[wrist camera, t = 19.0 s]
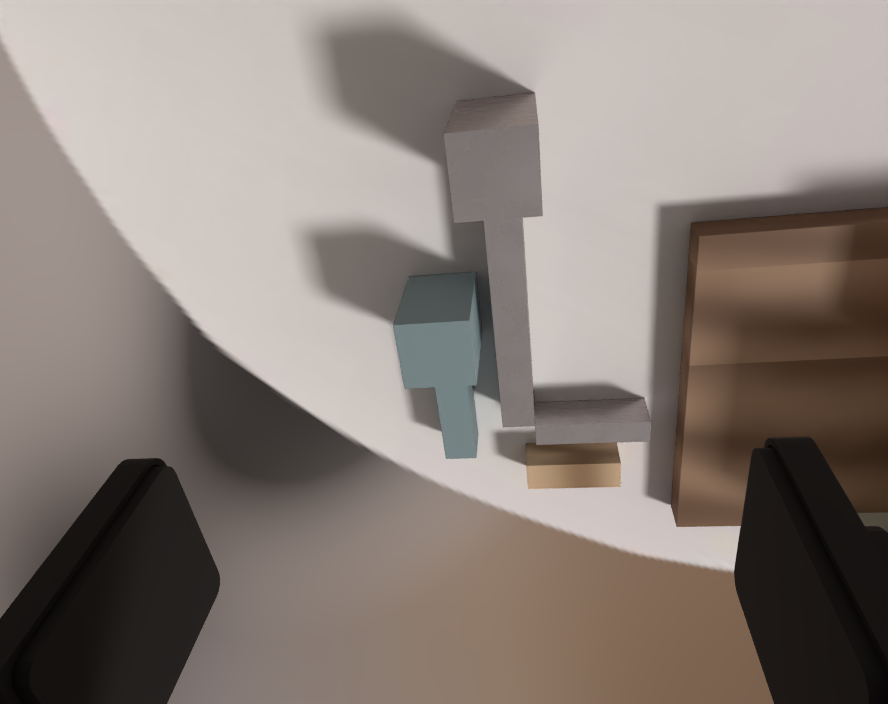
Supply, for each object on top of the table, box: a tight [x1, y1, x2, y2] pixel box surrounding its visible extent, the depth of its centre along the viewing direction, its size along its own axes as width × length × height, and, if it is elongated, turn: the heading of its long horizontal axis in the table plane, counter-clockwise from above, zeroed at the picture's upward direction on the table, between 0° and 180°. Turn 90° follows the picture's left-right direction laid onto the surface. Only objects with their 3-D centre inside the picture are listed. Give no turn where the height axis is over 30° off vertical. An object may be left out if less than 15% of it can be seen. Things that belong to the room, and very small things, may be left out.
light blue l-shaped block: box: [393, 272, 482, 459], centre depth 40 cm, size 12×4×6 cm, turn 7°
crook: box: [443, 93, 651, 445], centre depth 36 cm, size 21×10×7 cm, turn 7°
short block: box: [526, 442, 621, 489], centre depth 44 cm, size 6×2×2 cm, turn 97°
